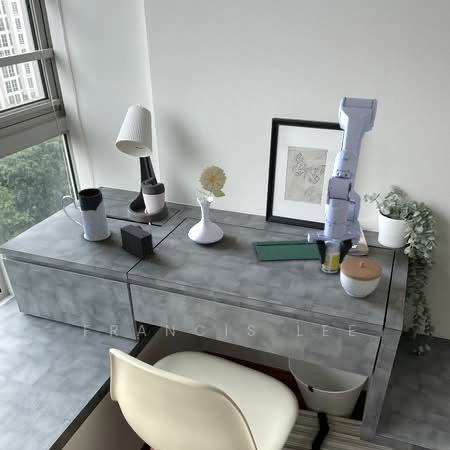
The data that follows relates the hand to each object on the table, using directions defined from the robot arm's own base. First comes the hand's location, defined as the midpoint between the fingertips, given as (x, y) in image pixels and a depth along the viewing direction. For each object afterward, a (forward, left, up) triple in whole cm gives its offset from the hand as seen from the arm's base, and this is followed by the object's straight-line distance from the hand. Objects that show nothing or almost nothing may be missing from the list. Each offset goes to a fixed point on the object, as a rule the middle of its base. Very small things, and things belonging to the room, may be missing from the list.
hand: (330, 262), depth 141 cm
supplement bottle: (0, 0, -3) cm, 3 cm away
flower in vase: (+35, -22, -3) cm, 42 cm away
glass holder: (+75, -28, -3) cm, 80 cm away
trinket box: (-5, +12, -3) cm, 13 cm away
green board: (+10, -12, -2) cm, 16 cm away
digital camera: (+57, -16, -3) cm, 59 cm away
